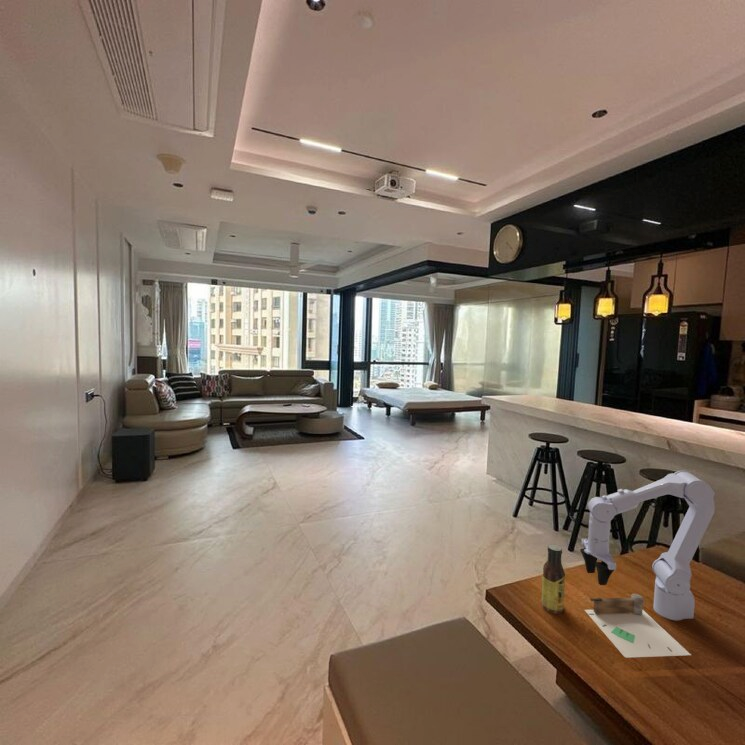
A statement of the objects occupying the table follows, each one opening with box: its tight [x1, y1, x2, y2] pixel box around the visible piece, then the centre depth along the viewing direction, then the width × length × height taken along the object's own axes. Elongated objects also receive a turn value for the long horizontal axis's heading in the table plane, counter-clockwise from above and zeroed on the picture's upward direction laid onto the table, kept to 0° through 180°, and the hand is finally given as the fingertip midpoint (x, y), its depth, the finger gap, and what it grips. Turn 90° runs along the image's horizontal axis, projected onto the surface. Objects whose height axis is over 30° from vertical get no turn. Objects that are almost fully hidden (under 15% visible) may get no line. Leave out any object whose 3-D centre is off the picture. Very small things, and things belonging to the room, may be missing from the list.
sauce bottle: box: [541, 544, 566, 614], centre depth 120 cm, size 7×6×20 cm
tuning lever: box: [589, 593, 644, 615], centre depth 118 cm, size 16×3×5 cm, turn 93°
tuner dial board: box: [584, 609, 692, 659], centre depth 111 cm, size 18×18×1 cm
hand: (596, 578), depth 123 cm, fingers open, 5 cm apart
